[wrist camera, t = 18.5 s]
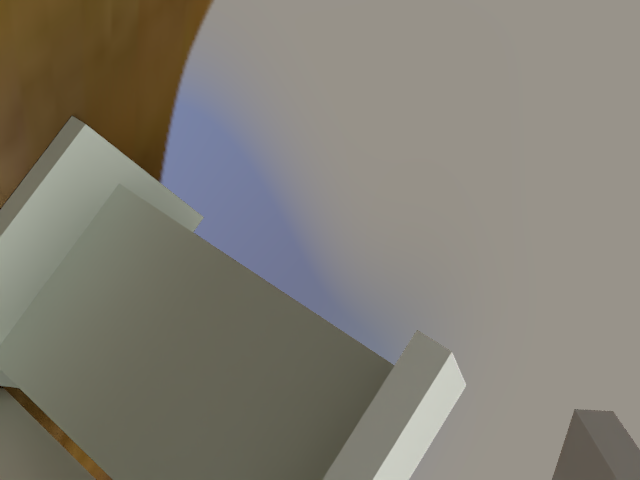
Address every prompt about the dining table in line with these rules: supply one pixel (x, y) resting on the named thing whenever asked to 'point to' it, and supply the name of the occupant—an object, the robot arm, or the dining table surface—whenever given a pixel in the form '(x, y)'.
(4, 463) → the post
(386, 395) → the stand
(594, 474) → the robot arm
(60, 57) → the dining table surface
